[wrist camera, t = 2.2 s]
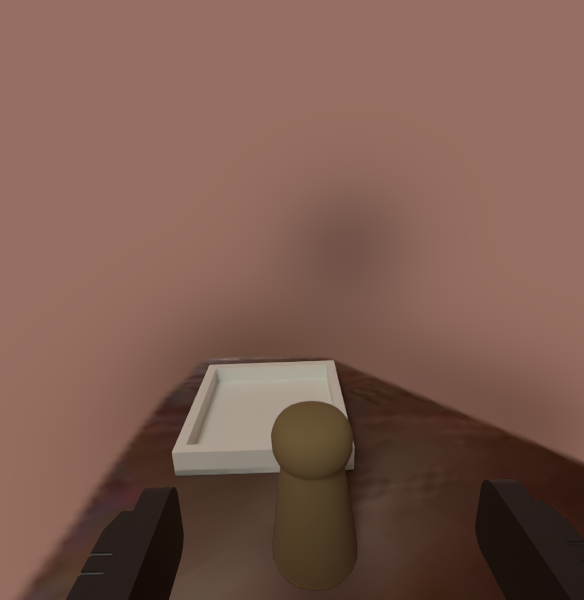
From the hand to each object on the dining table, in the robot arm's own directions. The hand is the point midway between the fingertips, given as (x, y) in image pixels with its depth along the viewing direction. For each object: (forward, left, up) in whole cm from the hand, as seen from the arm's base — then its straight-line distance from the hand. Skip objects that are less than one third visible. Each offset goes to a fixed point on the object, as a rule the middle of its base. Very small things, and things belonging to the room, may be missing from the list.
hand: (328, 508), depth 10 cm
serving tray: (+4, -27, -17) cm, 32 cm away
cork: (0, -12, -17) cm, 21 cm away
